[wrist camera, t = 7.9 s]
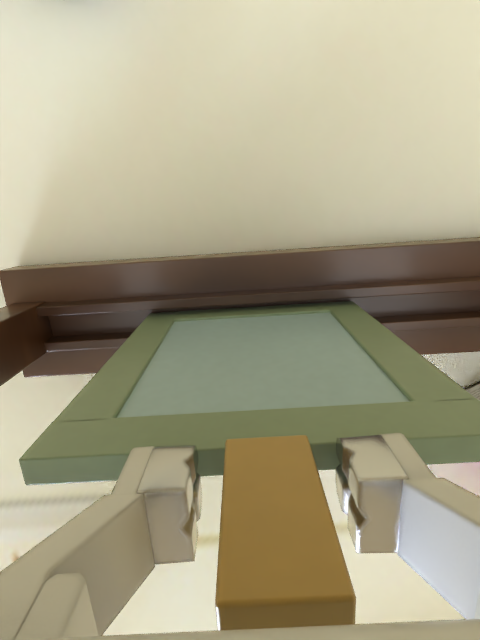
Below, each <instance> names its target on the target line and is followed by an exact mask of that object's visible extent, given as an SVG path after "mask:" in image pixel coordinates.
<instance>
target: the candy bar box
mask: <svg viewBox="0 0 480 640" xmlns="http://www.w3.org/2000/svg"><path fill="white" fill-rule="evenodd" d="M465 390H466V391H467V392H468V393H470V394H471V395H472V396H473V397H475V398H477V399H478V400H479V401H480V382H479V383H477V384H475V385H473V386H471V387H469V388H467V389H465Z"/></svg>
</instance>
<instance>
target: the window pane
mask: <svg viewBox="0 0 480 640" xmlns="http://www.w3.org/2000/svg"><path fill="white" fill-rule="evenodd" d="M390 433H401V434H403V435H404V436H405V437H406V439H407V440H408V441H409V443H410V444H411V445H412V447H413V448H414V449H415V451H416V452H417V453H418V455H419V456H420V457H421V459H422V460H423V461H424V463H425V464H426V465H427V464H446V463H465V462H480V401H479V400H478V399H477V398H475V397H473V396H472V395H471V394H470V393H468V392H467V391H466V390H465V389H463V388H462V387H461V386H460V385H458V384H457V383H456V382H454V381H453V380H452V379H451V378H449V377H448V376H447V375H446V374H444V373H443V372H442V371H440V370H439V369H438V368H437V367H435V366H434V365H433V364H432V363H430V362H429V361H428V360H427V359H425V358H424V357H423V356H421V355H420V354H419V353H418V352H416V351H415V350H414V349H413V348H411V347H410V346H409V345H407V344H406V343H405V342H404V341H402V340H401V339H400V338H399V337H397V336H396V335H395V334H394V333H392V332H391V331H390V330H388V329H387V328H386V327H385V326H383V325H382V324H381V323H380V322H378V321H377V320H376V319H374V318H373V317H372V316H371V315H369V314H368V313H367V312H366V311H364V310H363V309H362V308H361V307H359V306H358V305H357V304H356V303H354V302H353V301H343V302H327V303H310V304H293V305H277V306H260V307H243V308H227V309H210V310H194V311H177V312H160V313H150V314H149V315H148V316H147V317H146V318H145V320H144V321H143V322H142V323H141V324H140V325H139V326H138V327H137V329H136V330H135V331H134V332H133V333H132V334H131V335H130V336H129V338H128V339H127V340H126V341H125V342H124V343H123V344H122V345H121V347H120V348H119V349H118V350H117V351H116V352H115V353H114V354H113V356H112V357H111V358H110V359H109V360H108V361H107V362H106V363H105V364H104V366H103V367H102V368H101V369H100V370H99V371H98V372H97V373H96V375H95V376H94V377H93V378H92V379H91V380H90V381H89V382H88V384H87V385H86V386H85V387H84V388H83V389H82V390H81V391H80V392H79V394H78V395H77V396H76V397H75V398H74V399H73V400H72V401H71V403H70V404H69V405H68V406H67V407H66V408H65V409H64V410H63V412H62V413H61V414H60V415H59V416H58V417H57V418H56V419H55V421H54V422H52V423H51V424H50V426H49V427H48V428H47V429H46V430H45V431H44V432H43V433H42V434H41V436H40V437H39V438H38V439H37V440H36V441H35V442H34V443H33V445H32V446H31V447H30V448H29V449H28V450H27V451H26V452H25V453H24V455H23V456H22V457H21V458H20V459H19V462H20V466H21V469H22V473H23V477H24V481H25V484H26V485H44V484H63V483H82V482H101V481H117V480H118V478H119V476H120V473H121V471H122V469H123V467H124V465H125V463H126V460H127V458H128V456H129V454H130V452H131V450H132V449H133V448H135V447H149V446H154V447H155V446H179V445H196V447H197V451H198V459H199V461H198V468H197V473H198V474H199V475H200V476H216V475H223V488H222V504H221V520H220V536H219V551H218V567H217V583H216V599H215V607H216V616H217V625H218V630H239V629H261V628H284V627H306V626H328V625H350V624H355V608H356V596H355V593H354V589H353V586H352V583H351V580H350V576H349V573H348V570H347V566H346V563H345V560H344V556H343V553H342V550H341V546H340V543H339V540H338V536H337V533H336V530H335V526H334V523H333V520H332V516H331V513H330V510H329V506H328V503H327V500H326V497H325V493H324V490H323V487H322V483H321V480H320V477H319V473H318V470H331V469H336V468H337V466H338V465H339V464H340V463H339V460H338V458H337V455H336V441H337V438H342V437H357V436H371V435H379V434H390Z"/></svg>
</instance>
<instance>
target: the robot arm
mask: <svg viewBox="0 0 480 640" xmlns="http://www.w3.org/2000/svg"><path fill="white" fill-rule="evenodd" d="M336 455H337V458H338V460H339V463H340V464H339V465H338V466H337V468H336V488H337V495H338V499H339V503H340V506H341V509H342V511H343V512H344V513H345V514H347V515H348V530H349V532H350V535H351V538H352V541H353V544H354V547H355V549H356V552H357V553H398V556H400V557H401V558H402V559H403V560H404V561H405V562H406V563H407V564H408V565H409V566H410V567H411V568H412V569H413V570H414V571H415V572H416V573H418V574H419V575H420V576H421V577H422V578H423V579H424V580H425V581H426V582H427V583H428V584H429V585H430V586H431V587H432V588H433V589H435V590H436V591H437V592H438V593H439V594H440V595H441V596H442V597H443V598H444V599H445V600H446V601H447V602H448V603H449V604H450V605H452V606H453V607H454V608H455V609H456V610H457V611H458V612H459V613H460V614H461V615H462V616H463V617H464V618H465V619H461V620H439V621H417V622H395V623H373V624H350V625H328V626H306V627H284V628H261V629H239V630H217V631H196V632H174V633H153V634H132V635H110V636H102V634H103V633H104V632H105V631H106V629H107V628H108V627H109V625H110V624H111V623H112V622H113V620H114V619H115V618H116V616H117V615H118V614H119V613H120V611H121V610H122V609H123V607H124V606H125V605H126V604H127V602H128V601H129V600H130V598H131V597H132V596H133V594H134V593H135V592H136V591H137V589H138V588H139V587H140V585H141V584H142V583H143V582H144V580H145V579H146V578H147V576H148V575H149V574H150V573H151V571H152V570H153V569H154V567H155V565H154V564H165V563H178V562H190V561H194V560H195V553H196V546H197V538H198V530H197V521H198V520H199V519H200V515H201V502H202V489H201V477H200V475H199V474H198V473H197V468H198V461H199V459H198V451H197V447H196V445H179V446H155V447H154V446H149V447H135V448H133V449H132V450H131V452H130V454H129V456H128V458H127V460H126V463H125V465H124V467H123V469H122V471H121V473H120V476H119V478H118V480H117V482H116V484H115V486H114V489H113V491H112V493H111V495H104V496H103V497H101V498H100V499H99V500H97V501H96V502H94V503H93V504H92V505H90V506H89V507H88V508H86V509H85V510H84V511H82V512H81V513H80V514H78V515H77V516H75V517H74V518H73V519H71V520H70V521H69V522H67V523H66V524H65V525H63V526H62V527H61V528H59V529H58V530H57V531H55V532H54V533H52V534H51V535H50V536H48V537H47V538H46V539H44V540H43V541H42V542H40V543H39V544H38V545H36V546H35V547H33V548H32V549H31V550H29V551H28V552H27V553H25V554H24V555H23V556H21V557H20V558H19V559H17V560H16V561H14V562H13V563H12V564H10V565H9V566H8V567H6V568H5V569H4V570H2V571H1V572H0V640H480V497H479V496H477V495H475V494H473V493H471V492H469V491H467V490H465V489H463V488H461V487H460V486H458V485H456V484H454V483H452V482H450V481H448V480H446V479H444V478H436V477H435V476H434V475H433V473H432V472H431V471H430V469H429V468H428V467H427V465H426V464H425V463H424V461H423V460H422V459H421V457H420V456H419V455H418V453H417V452H416V451H415V449H414V448H413V447H412V445H411V444H410V443H409V441H408V440H407V439H406V437H405V436H404V435H403V434H401V433H390V434H379V435H371V436H357V437H342V438H337V441H336Z"/></svg>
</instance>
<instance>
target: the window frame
mask: <svg viewBox="0 0 480 640" xmlns="http://www.w3.org/2000/svg"><path fill="white" fill-rule="evenodd" d="M0 281H1V285H2V289H3V293H4V297H5V301H6V305H7V306H5V307H3V308H0V386H1V385H3V384H4V383H5V382H7V381H8V380H9V379H11V378H12V377H14V376H15V375H16V374H18V373H19V372H21V371H22V370H23V374H24V377H38V376H56V375H73V374H90V373H97V372H98V371H99V370H100V369H101V368H102V367H103V366H104V364H105V363H106V362H107V361H108V360H109V359H110V358H111V357H112V356H113V354H114V353H115V352H116V351H117V350H118V349H119V348H120V347H121V345H122V344H123V343H124V342H125V341H126V340H127V339H128V338H129V336H130V335H131V334H132V333H133V332H134V331H135V330H136V329H137V327H138V326H139V325H140V324H141V323H142V322H143V321H144V320H145V318H146V317H147V316H148V315H149V314H150V313H160V312H177V311H194V310H210V309H227V308H243V307H260V306H277V305H293V304H310V303H327V302H343V301H353V302H354V303H356V304H357V305H358V306H359V307H361V308H362V309H363V310H364V311H366V312H367V313H368V314H369V315H371V316H372V317H373V318H374V319H376V320H377V321H378V322H380V323H381V324H382V325H383V326H385V327H386V328H387V329H388V330H390V331H391V332H392V333H394V334H395V335H396V336H397V337H399V338H400V339H401V340H402V341H404V342H405V343H406V344H407V345H409V346H410V347H411V348H413V349H414V350H415V351H416V352H418V353H419V354H420V355H422V354H439V353H457V352H474V351H480V237H478V238H462V239H446V240H430V241H414V242H398V243H382V244H366V245H350V246H334V247H318V248H302V249H286V250H270V251H254V252H238V253H222V254H206V255H190V256H174V257H158V258H142V259H126V260H110V261H94V262H78V263H63V264H47V265H31V266H17V267H12V268H8V269H4V270H0Z"/></svg>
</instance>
